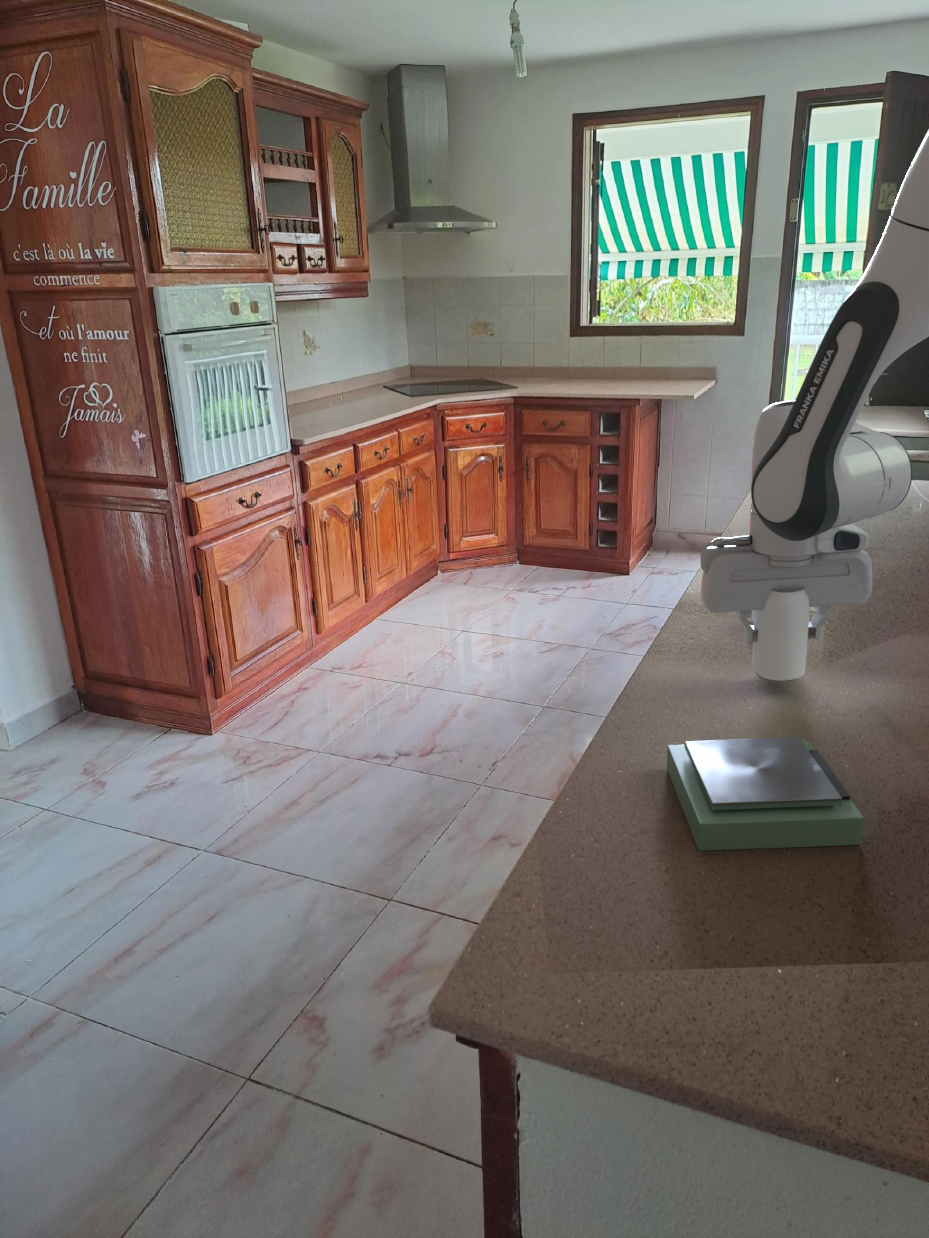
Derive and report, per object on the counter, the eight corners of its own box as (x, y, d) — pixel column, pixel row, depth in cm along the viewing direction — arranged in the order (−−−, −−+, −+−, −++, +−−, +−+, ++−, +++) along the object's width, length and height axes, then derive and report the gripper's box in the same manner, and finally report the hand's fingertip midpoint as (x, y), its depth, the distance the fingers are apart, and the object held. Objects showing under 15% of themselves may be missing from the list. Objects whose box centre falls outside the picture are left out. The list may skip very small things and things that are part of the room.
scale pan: (798, 743, 93) (798, 736, 93) (841, 805, 82) (842, 798, 82) (684, 747, 94) (684, 741, 93) (712, 810, 82) (712, 803, 82)
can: (761, 684, 110) (766, 594, 106) (745, 664, 116) (748, 578, 112) (813, 680, 110) (819, 590, 106) (793, 661, 116) (799, 574, 112)
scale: (805, 763, 96) (807, 735, 95) (860, 845, 82) (864, 813, 81) (666, 769, 96) (667, 741, 95) (698, 851, 82) (699, 820, 81)
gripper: (707, 545, 104) (704, 653, 109) (882, 535, 103) (872, 643, 108) (695, 532, 110) (693, 634, 115) (861, 522, 109) (852, 625, 114)
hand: (781, 639), depth 112 cm, fingers closed on can, 6 cm apart
